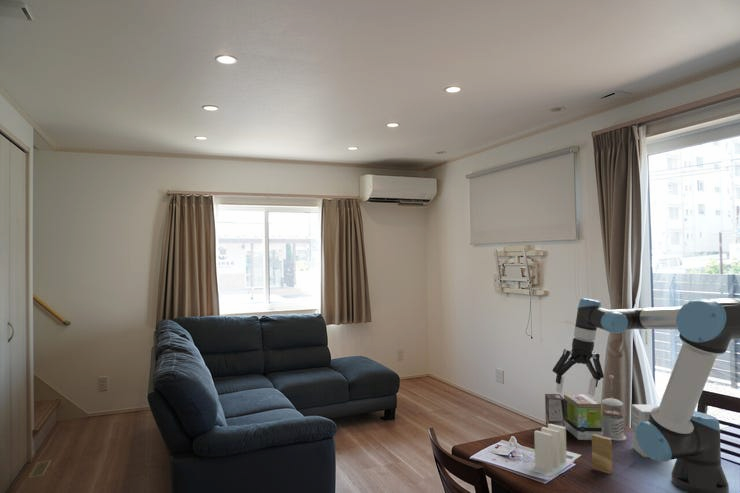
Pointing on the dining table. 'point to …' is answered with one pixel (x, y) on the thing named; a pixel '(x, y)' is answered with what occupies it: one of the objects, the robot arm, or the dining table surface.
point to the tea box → (582, 416)
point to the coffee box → (554, 410)
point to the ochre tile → (602, 453)
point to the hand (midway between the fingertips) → (574, 393)
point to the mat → (570, 458)
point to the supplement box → (638, 416)
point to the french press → (612, 419)
